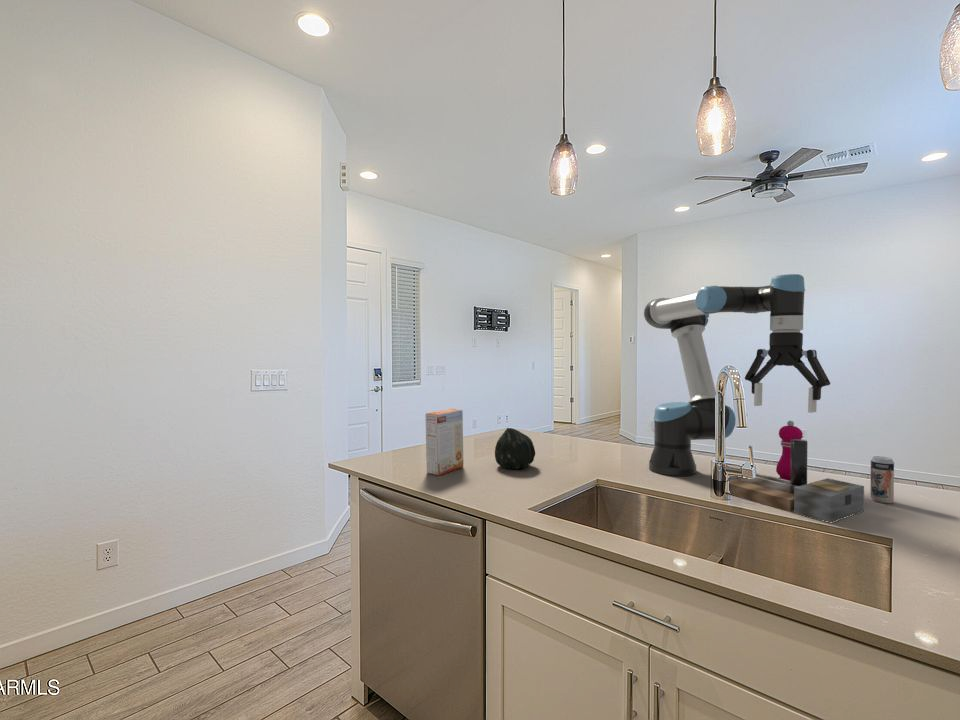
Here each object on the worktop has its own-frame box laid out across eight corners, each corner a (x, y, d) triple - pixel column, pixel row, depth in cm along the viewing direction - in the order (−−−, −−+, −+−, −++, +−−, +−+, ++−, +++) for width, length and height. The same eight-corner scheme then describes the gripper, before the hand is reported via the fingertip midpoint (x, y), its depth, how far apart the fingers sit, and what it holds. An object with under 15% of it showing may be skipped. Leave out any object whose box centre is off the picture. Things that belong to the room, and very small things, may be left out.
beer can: (866, 499, 122) (866, 456, 121) (876, 497, 124) (876, 455, 123) (888, 505, 117) (888, 460, 117) (897, 502, 119) (898, 458, 119)
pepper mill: (809, 489, 131) (810, 422, 131) (782, 488, 132) (783, 422, 132) (797, 482, 138) (797, 419, 138) (771, 481, 139) (772, 418, 139)
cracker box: (451, 464, 161) (450, 408, 161) (464, 467, 158) (463, 409, 157) (425, 473, 150) (424, 412, 150) (438, 476, 146) (438, 413, 146)
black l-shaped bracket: (783, 489, 120) (783, 439, 120) (790, 487, 122) (790, 438, 122) (834, 502, 110) (835, 447, 110) (841, 500, 112) (842, 446, 111)
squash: (544, 448, 163) (517, 417, 165) (540, 459, 149) (511, 426, 150) (516, 471, 166) (490, 441, 168) (509, 485, 152) (481, 451, 153)
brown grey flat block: (722, 492, 129) (722, 468, 129) (756, 483, 137) (756, 461, 137) (831, 523, 105) (831, 494, 105) (863, 511, 113) (864, 484, 113)
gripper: (732, 332, 129) (731, 404, 130) (834, 330, 107) (831, 416, 108) (747, 332, 133) (745, 402, 134) (847, 331, 111) (844, 414, 112)
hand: (783, 408), depth 121 cm, fingers open, 13 cm apart
